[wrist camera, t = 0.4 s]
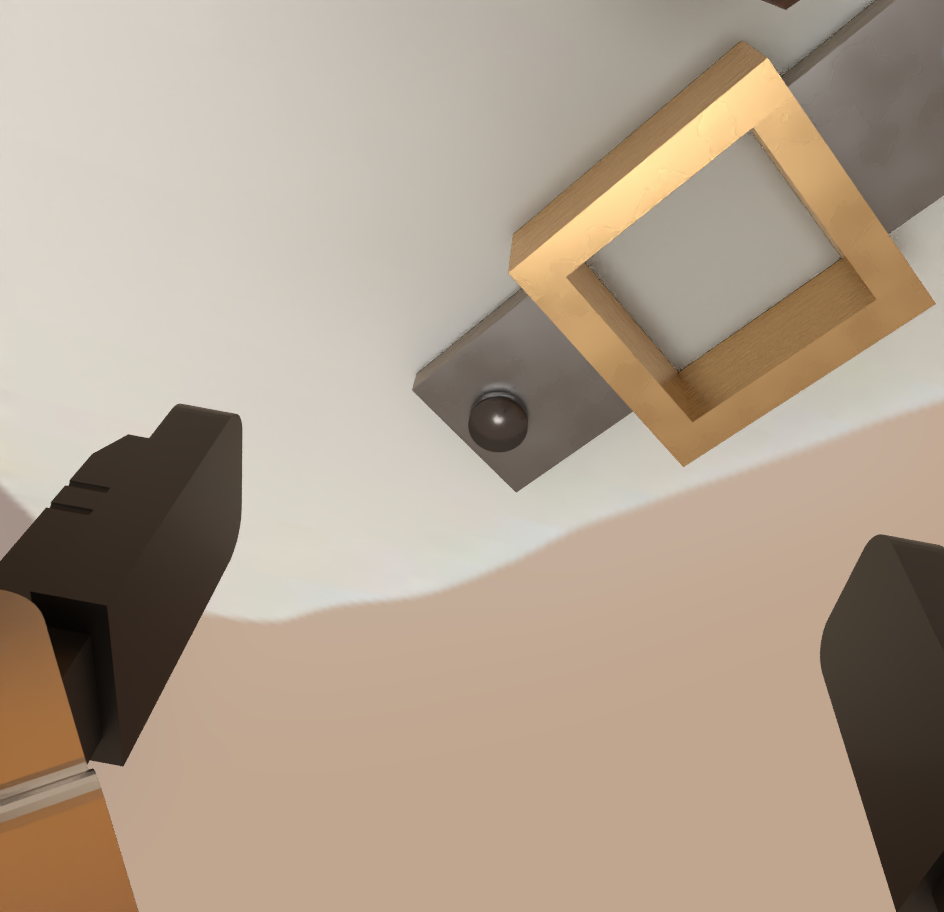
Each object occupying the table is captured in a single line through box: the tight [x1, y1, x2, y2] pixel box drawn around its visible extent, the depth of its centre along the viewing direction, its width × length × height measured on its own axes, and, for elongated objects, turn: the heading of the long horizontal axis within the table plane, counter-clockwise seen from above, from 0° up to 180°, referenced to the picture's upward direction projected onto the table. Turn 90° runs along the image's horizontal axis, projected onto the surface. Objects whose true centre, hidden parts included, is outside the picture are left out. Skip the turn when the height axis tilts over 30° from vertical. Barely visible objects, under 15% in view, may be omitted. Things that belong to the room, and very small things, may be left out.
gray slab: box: [412, 289, 633, 492], centre depth 39 cm, size 8×7×2 cm
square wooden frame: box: [508, 41, 936, 467], centre depth 34 cm, size 11×11×4 cm
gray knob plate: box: [781, 0, 944, 234], centre depth 32 cm, size 9×7×2 cm
